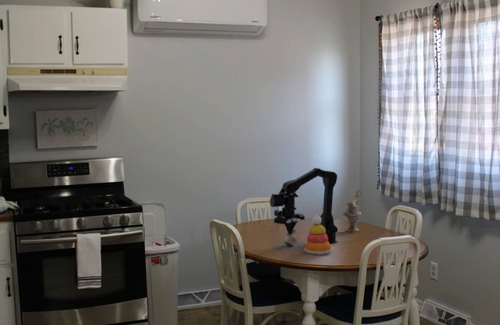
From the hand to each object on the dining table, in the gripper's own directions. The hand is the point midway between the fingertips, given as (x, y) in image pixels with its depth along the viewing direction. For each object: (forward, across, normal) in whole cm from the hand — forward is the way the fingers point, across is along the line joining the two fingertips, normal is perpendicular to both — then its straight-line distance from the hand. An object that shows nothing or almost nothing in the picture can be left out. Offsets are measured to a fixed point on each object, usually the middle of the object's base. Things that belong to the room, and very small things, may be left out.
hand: (289, 234), depth 295 cm
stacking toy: (+7, -1, +19) cm, 20 cm away
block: (+5, +1, 0) cm, 5 cm away
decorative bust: (+7, -56, 0) cm, 56 cm away
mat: (+7, -1, 0) cm, 7 cm away
